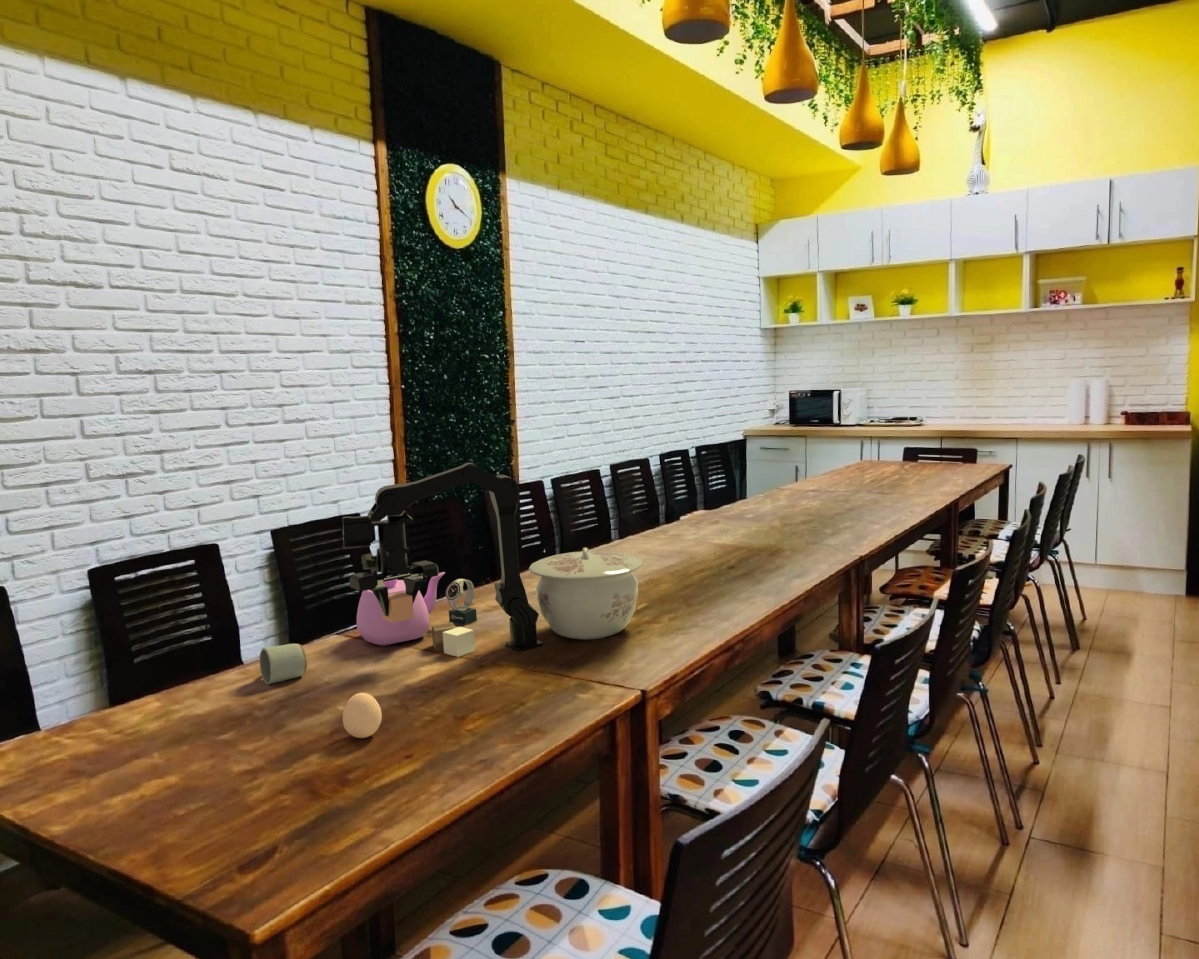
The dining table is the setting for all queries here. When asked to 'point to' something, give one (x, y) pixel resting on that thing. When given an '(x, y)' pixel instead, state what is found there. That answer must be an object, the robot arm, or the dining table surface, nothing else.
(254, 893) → the dining table surface
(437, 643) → the walnut cube
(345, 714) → the egg
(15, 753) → the dining table surface
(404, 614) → the terracotta cube
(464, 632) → the cream cube
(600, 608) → the chamber pot
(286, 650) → the ceramic mug
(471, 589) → the watch
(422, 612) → the teapot
